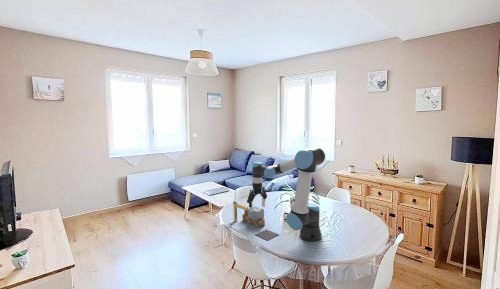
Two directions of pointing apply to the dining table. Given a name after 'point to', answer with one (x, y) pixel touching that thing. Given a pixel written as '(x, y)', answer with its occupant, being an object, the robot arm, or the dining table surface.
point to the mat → (267, 234)
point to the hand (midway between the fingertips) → (257, 208)
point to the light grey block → (256, 214)
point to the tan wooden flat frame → (236, 209)
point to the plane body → (257, 223)
